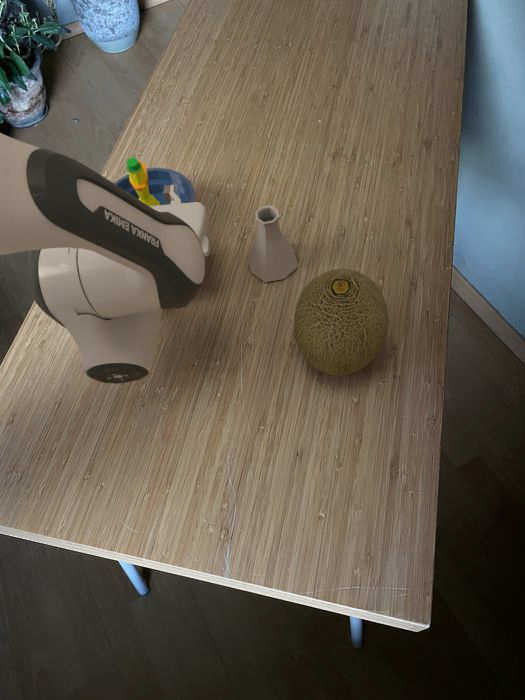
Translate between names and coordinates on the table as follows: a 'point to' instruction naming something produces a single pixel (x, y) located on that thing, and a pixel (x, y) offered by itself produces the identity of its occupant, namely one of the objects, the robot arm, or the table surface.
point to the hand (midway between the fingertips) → (137, 191)
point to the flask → (271, 248)
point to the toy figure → (140, 181)
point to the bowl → (162, 185)
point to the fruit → (340, 321)
